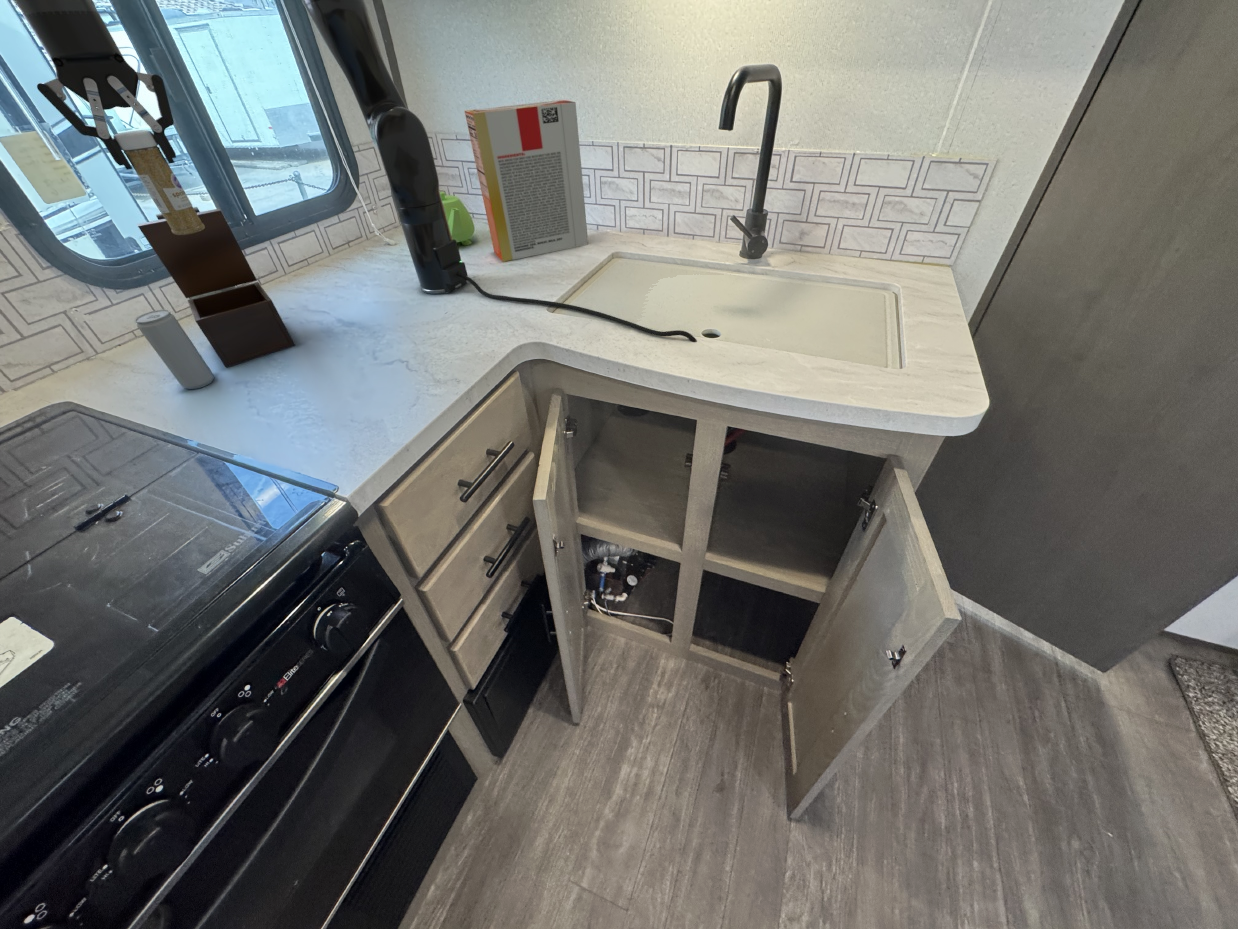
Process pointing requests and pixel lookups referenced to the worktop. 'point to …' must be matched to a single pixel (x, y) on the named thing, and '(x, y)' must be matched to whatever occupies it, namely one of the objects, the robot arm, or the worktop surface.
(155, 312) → the beverage can
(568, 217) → the pasta box
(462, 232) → the teapot
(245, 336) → the chest
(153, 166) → the sprinkles bottle
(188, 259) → the lid
